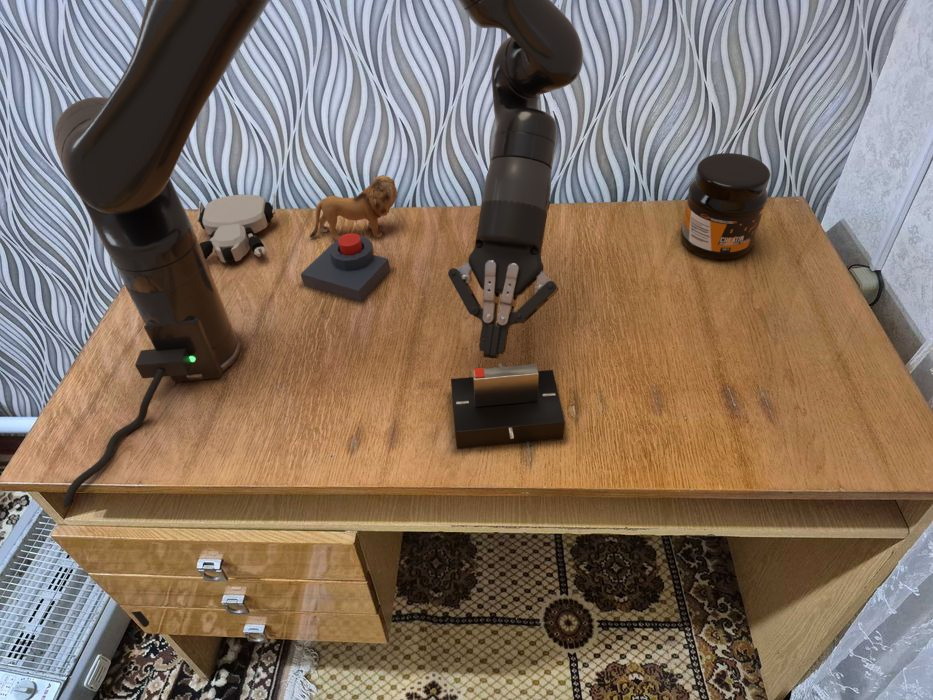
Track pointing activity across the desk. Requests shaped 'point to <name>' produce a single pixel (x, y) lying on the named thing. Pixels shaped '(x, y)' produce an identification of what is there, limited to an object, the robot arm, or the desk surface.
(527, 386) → the knob
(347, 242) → the button
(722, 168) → the supplement container
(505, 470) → the desk surface
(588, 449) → the desk surface
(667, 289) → the desk surface
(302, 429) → the desk surface
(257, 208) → the robot toy
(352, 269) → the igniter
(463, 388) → the panel
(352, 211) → the lion figurine
